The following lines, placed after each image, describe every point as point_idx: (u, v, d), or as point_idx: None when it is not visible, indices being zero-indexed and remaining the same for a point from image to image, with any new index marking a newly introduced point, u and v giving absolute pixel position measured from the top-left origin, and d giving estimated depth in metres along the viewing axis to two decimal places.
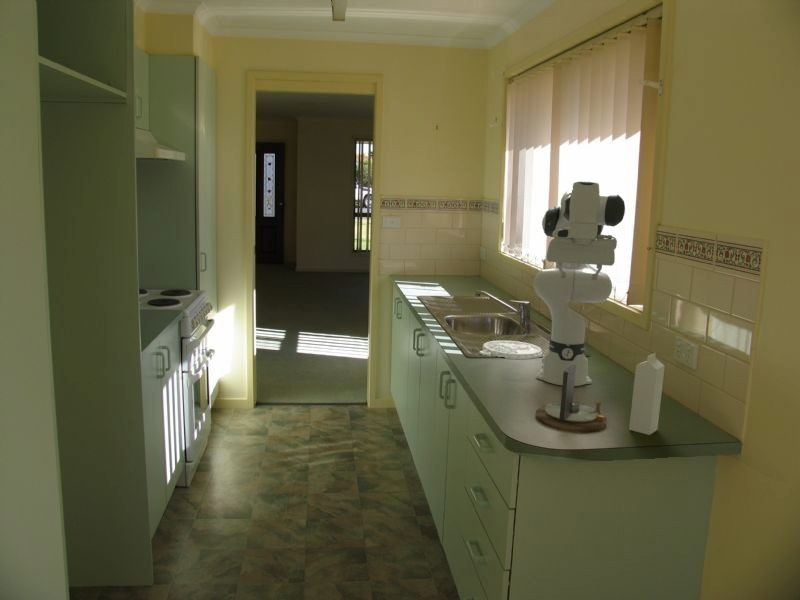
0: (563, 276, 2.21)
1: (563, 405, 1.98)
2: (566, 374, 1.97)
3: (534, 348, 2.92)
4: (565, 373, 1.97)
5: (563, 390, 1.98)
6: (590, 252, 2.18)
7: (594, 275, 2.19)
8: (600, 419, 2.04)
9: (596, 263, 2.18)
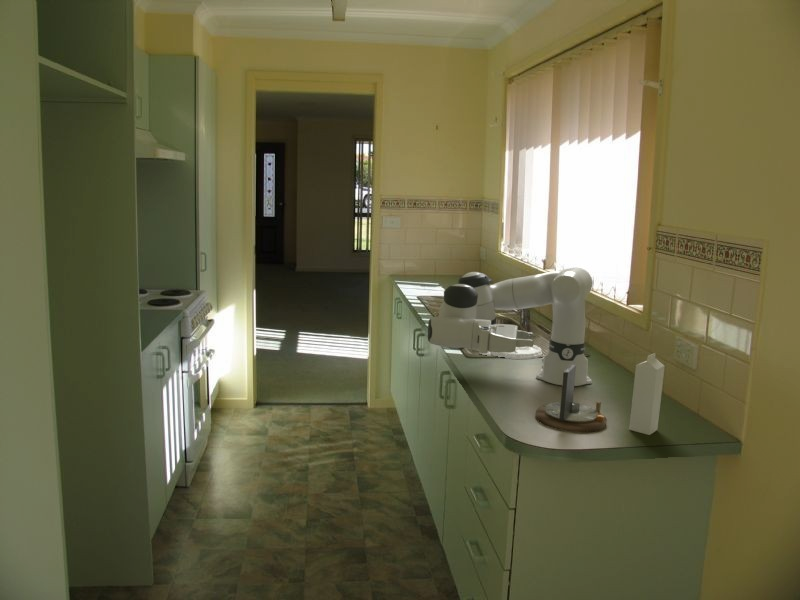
0: (532, 340, 1.97)
1: (563, 405, 1.98)
2: (566, 374, 1.97)
3: (534, 348, 2.92)
4: (565, 373, 1.97)
5: (563, 390, 1.98)
6: (504, 328, 2.05)
7: (529, 333, 2.06)
8: (600, 419, 2.04)
9: (516, 328, 2.07)
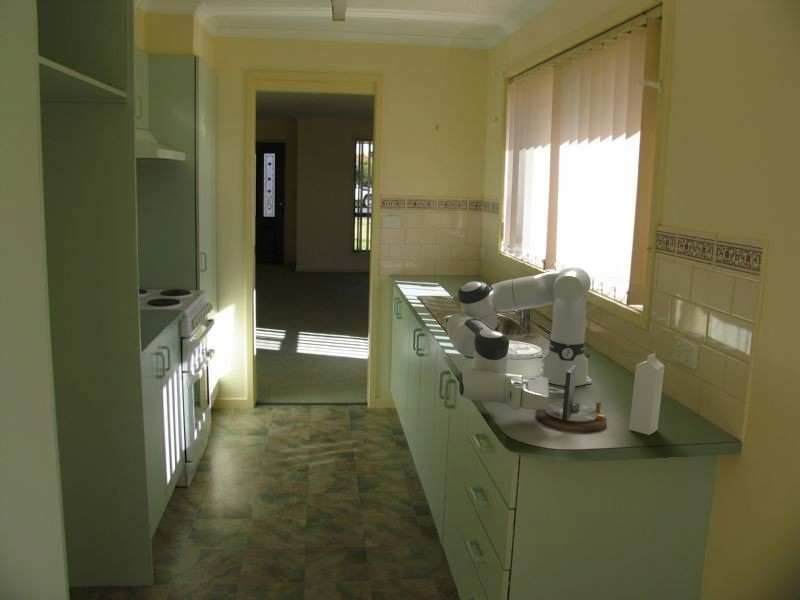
0: None
1: (566, 405, 1.98)
2: (569, 374, 1.97)
3: (534, 348, 2.92)
4: (568, 373, 1.97)
5: (566, 390, 1.98)
6: (536, 382, 2.06)
7: (560, 390, 2.02)
8: (601, 418, 2.05)
9: (547, 382, 2.07)
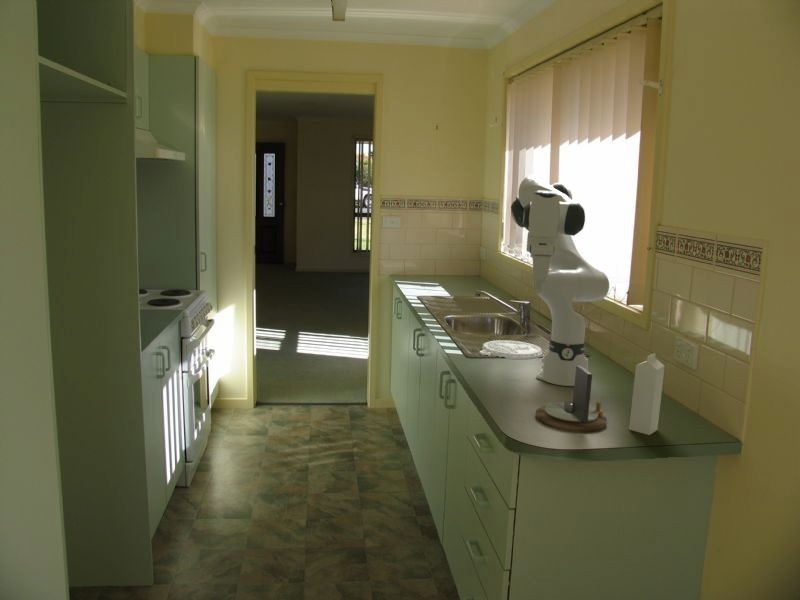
0: (541, 291, 2.14)
1: (587, 407, 1.97)
2: (590, 376, 1.96)
3: (534, 348, 2.92)
4: (589, 375, 1.96)
5: (587, 392, 1.97)
6: None
7: None
8: (600, 413, 2.09)
9: None
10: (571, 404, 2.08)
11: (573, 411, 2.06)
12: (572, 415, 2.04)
